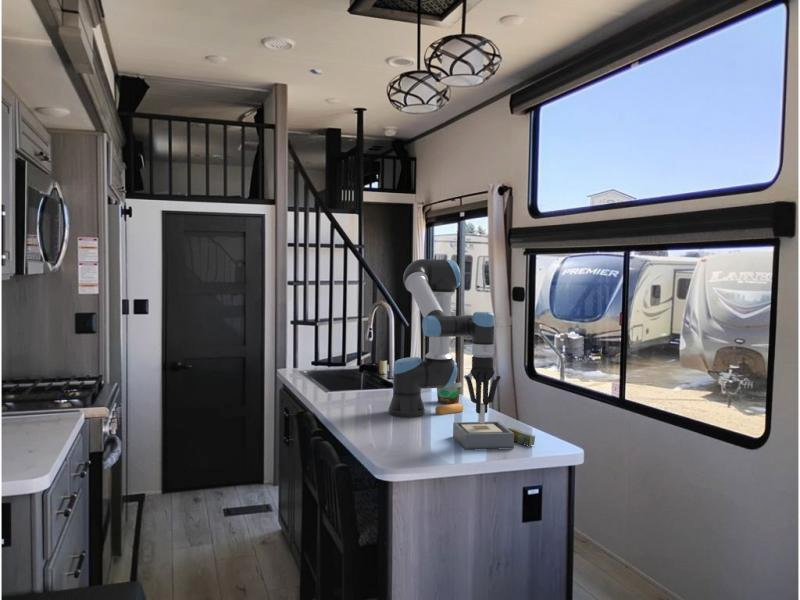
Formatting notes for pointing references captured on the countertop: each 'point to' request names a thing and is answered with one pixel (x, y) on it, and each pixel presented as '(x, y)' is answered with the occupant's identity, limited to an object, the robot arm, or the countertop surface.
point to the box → (483, 435)
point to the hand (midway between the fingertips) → (481, 422)
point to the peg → (449, 409)
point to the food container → (449, 394)
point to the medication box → (523, 437)
